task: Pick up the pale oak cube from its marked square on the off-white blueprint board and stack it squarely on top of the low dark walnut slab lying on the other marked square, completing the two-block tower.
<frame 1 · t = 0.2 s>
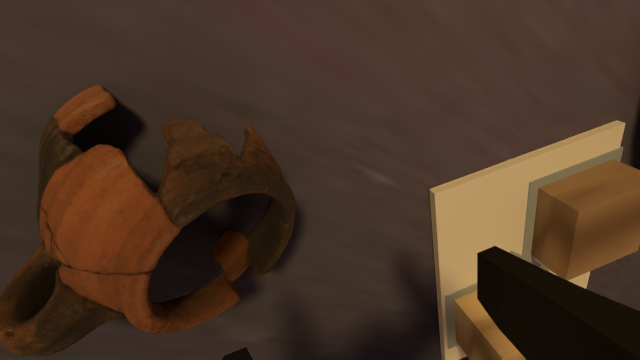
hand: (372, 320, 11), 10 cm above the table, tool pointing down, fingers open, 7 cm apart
brown hollow curved piece: (151, 187, 17), on the table
walnut block: (570, 208, 26), point 1 cm above the table, touching blueprint board
blueprint board: (517, 255, 28), on the table
oak block: (483, 309, 28), point 1 cm above the table, touching blueprint board
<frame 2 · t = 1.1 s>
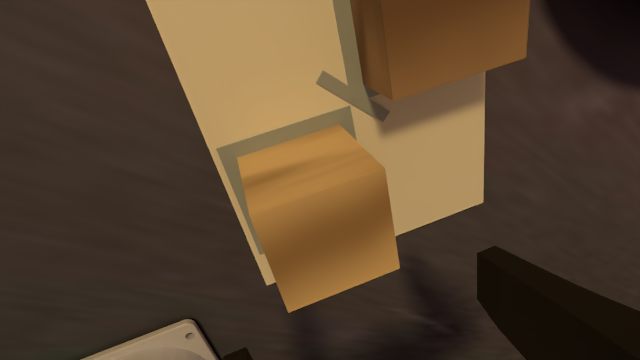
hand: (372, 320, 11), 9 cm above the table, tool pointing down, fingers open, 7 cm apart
blueprint board: (349, 94, 17), on the table
oak block: (302, 185, 18), point 1 cm above the table, touching blueprint board
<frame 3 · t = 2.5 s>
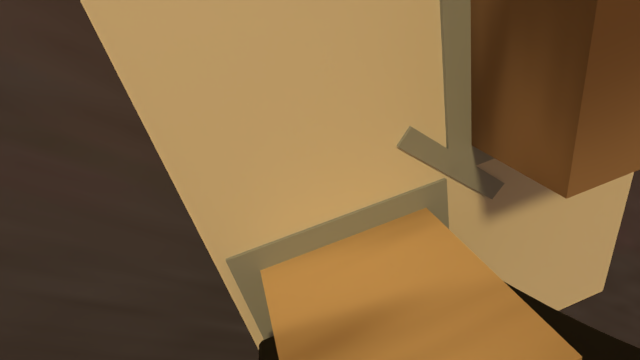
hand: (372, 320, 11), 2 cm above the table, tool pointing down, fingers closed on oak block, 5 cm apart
blueprint board: (441, 156, 11), on the table
oak block: (360, 297, 11), point 1 cm above the table, touching blueprint board, gripper
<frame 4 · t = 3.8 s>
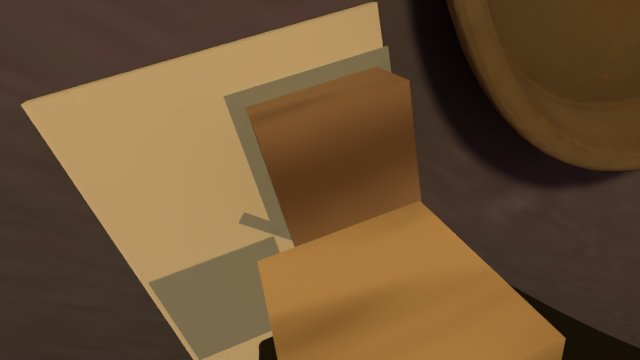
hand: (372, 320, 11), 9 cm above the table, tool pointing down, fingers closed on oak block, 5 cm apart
walnut block: (327, 147, 17), point 1 cm above the table, touching blueprint board
blueprint board: (275, 222, 19), on the table
oak block: (355, 289, 12), point 8 cm above the table, touching gripper
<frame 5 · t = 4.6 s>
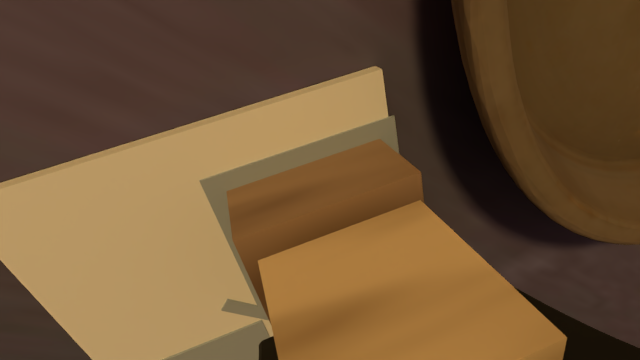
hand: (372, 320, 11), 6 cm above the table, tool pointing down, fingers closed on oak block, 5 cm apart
walnut block: (322, 226, 15), point 1 cm above the table, touching blueprint board
blueprint board: (264, 302, 17), on the table
oak block: (356, 289, 12), point 4 cm above the table, touching gripper
when the fingers open (5 cm above the table, at t = 5.2 s): oak block stays where it is, resting on walnut block.
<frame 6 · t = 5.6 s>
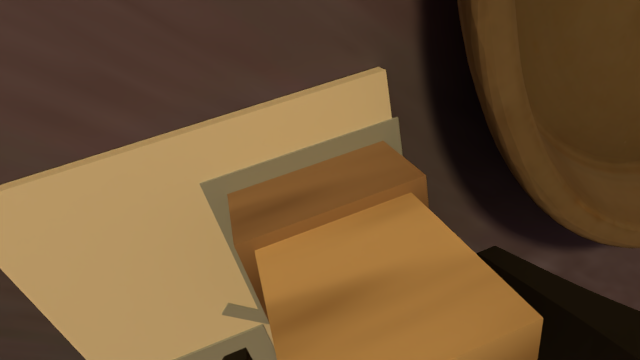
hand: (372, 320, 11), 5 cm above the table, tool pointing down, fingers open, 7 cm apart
walnut block: (325, 229, 15), point 1 cm above the table, touching blueprint board, oak block
blueprint board: (265, 306, 16), on the table
oak block: (350, 279, 12), point 4 cm above the table, touching walnut block
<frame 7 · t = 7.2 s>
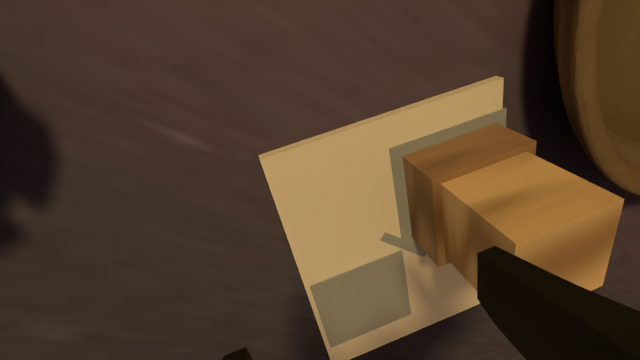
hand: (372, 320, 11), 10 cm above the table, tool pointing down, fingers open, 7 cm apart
walnut block: (451, 182, 22), point 1 cm above the table, touching blueprint board, oak block
blueprint board: (400, 239, 24), on the table
oak block: (484, 206, 19), point 4 cm above the table, touching walnut block
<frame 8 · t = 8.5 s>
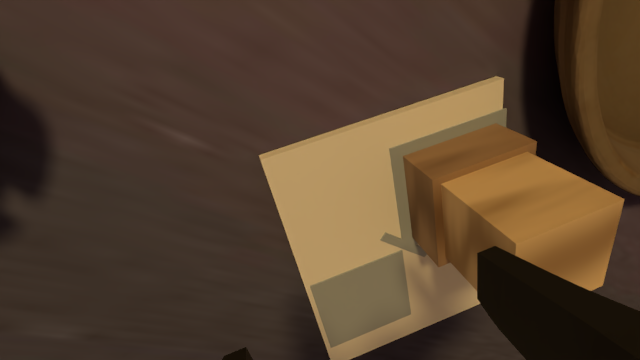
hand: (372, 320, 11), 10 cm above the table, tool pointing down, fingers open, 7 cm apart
walnut block: (452, 183, 22), point 1 cm above the table, touching blueprint board, oak block
blueprint board: (400, 239, 24), on the table
oak block: (484, 206, 19), point 4 cm above the table, touching walnut block
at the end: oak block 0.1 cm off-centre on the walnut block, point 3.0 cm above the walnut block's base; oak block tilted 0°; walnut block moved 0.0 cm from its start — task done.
